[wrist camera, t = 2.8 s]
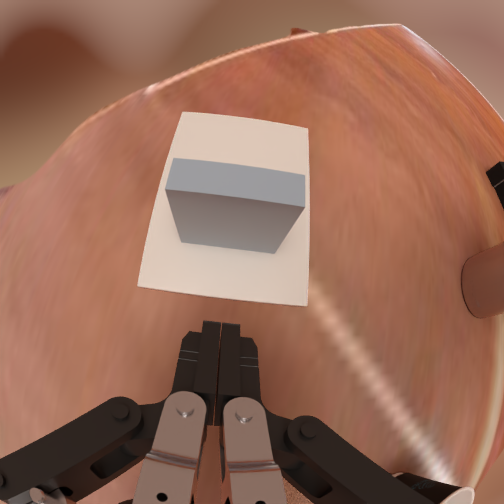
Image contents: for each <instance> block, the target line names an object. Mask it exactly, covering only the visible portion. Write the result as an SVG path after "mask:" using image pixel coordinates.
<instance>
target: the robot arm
mask: <svg viewBox="0 0 504 504" xmlns="http://www.w3.org/2000/svg"><path fill="white" fill-rule="evenodd" d="M462 289H463V295H464V298H465V301H466V304H467V306H468V308H469V310H470V311H471V313H472V314H473V315H474V316H475V317H477V318H486V317H490V316H495V315H499V314H504V242H502V243H500V244H498V245H496V246H494V247H492V248H490V249H487V250H485V251H483V252H481V253H479V254H477V255H475V256H473V257H471V258H469V259H468V260H467V261H466V263H465V265H464V268H463V272H462ZM220 329H221V322H212V321H203V327H202V333H199V332H192V331H189V332H188V334H187V335H186V336H185V337H184V338H183V339H182V344H181V349H180V353H179V359H178V363H177V368H176V373H175V377H174V382H173V388H172V391H171V393H170V395H169V396H168V397H167V398H166V399H165V400H163V401H161V402H159V403H155V404H147V405H138V404H137V403H136V402H135V401H133V400H132V399H129V398H126V397H114V398H111V399H109V400H107V401H106V402H104V403H102V404H101V405H99V406H97V407H96V408H94V409H92V410H91V411H89V412H87V413H85V414H84V415H82V416H80V417H78V418H77V419H75V420H73V421H71V422H70V423H68V424H66V425H64V426H62V427H61V428H59V429H57V430H55V431H53V432H51V433H50V434H48V435H46V436H44V437H42V438H40V439H38V440H37V441H35V442H33V443H31V444H29V445H27V446H25V447H23V448H21V449H19V450H17V451H15V452H13V453H11V454H9V455H7V456H5V457H3V458H1V459H0V500H2V501H4V502H6V503H7V504H76V502H77V501H79V500H81V499H83V498H84V497H86V496H88V495H89V494H91V493H93V492H94V491H96V490H98V489H99V488H101V487H103V486H104V485H106V484H107V483H109V482H110V481H112V480H114V479H115V478H117V477H118V476H120V475H121V474H123V473H124V472H126V471H127V470H129V469H130V468H132V467H133V466H134V465H136V464H137V463H139V462H140V461H142V460H143V459H144V458H145V459H144V461H143V465H142V469H141V472H140V476H139V480H138V483H137V487H136V491H135V495H134V499H130V500H126V501H123V502H121V503H119V504H195V503H196V496H197V488H198V479H199V473H200V467H201V460H202V454H203V448H204V443H205V441H206V437H207V425H212V424H213V415H214V406H215V419H214V426H220V431H219V442H218V447H219V463H220V478H221V504H287V500H286V495H285V489H284V484H283V479H282V476H283V477H284V478H285V479H286V480H287V481H288V482H289V483H290V484H291V485H293V486H294V487H295V488H296V489H297V490H298V491H299V492H301V493H302V494H303V495H304V496H305V497H307V498H308V499H309V500H310V501H311V502H313V503H314V504H435V503H434V502H432V501H431V500H429V499H427V498H426V497H424V496H423V495H421V494H419V493H418V492H416V491H415V490H413V489H412V488H410V487H409V486H407V485H406V484H404V483H403V482H401V481H400V480H398V479H397V478H395V477H394V476H392V475H391V474H390V473H388V472H387V471H385V470H384V469H382V468H381V467H380V466H378V465H377V464H376V463H374V462H373V461H371V460H370V459H369V458H367V457H366V456H365V455H363V454H362V453H361V452H359V451H358V450H357V449H356V448H354V447H353V446H352V445H350V444H349V443H348V442H347V441H345V440H344V439H343V438H342V437H340V436H339V435H338V434H337V433H335V432H334V431H333V430H332V429H330V428H329V427H328V426H327V425H325V424H324V423H323V422H322V421H321V420H319V419H317V418H316V417H313V416H299V417H297V418H295V419H293V420H290V419H287V418H283V417H280V416H277V415H274V414H272V413H271V412H269V411H268V410H267V409H266V408H265V407H264V405H263V403H262V401H261V396H260V381H259V368H258V351H257V346H256V344H255V343H254V341H253V339H252V338H247V337H240V324H231V323H222V330H221V339H220ZM219 341H220V348H219ZM218 355H219V358H218ZM217 368H218V372H217ZM216 383H217V386H216ZM215 396H216V402H215Z"/></svg>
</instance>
